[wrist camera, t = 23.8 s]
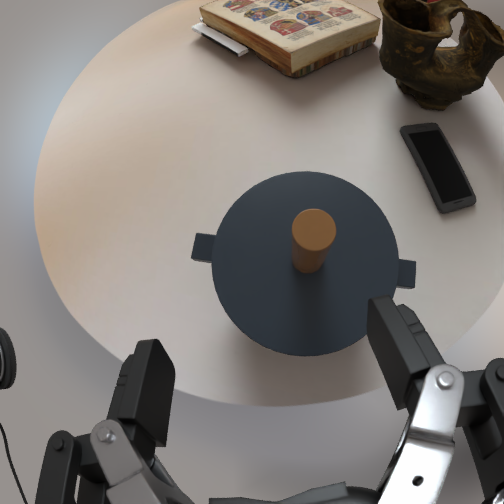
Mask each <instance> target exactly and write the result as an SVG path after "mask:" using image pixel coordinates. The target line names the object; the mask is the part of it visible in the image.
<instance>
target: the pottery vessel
mask: <svg viewBox="0 0 504 504" xmlns="http://www.w3.org/2000/svg"><path fill="white" fill-rule="evenodd" d="M377 3H378V4H379V7H380V10H381V12H382V15H383V26H382V35H383V36H382V37H383V39H382V45H381V48H380V51H379V58H380V62H381V64H382V67H383V69H384V70H385V71H386V72H387V73H388V74H390V75H391V76H393V77H394V78H396V83H397V84H398V85H400V86H401V88H402V91H403V92H404V93H410V94H413V95H414V96H415V98H416V100H415V101H417V100H418V101H417V102H418V103H419V104H420V106H421V107H422V108H425V109H431V110H434V109H436V110H442V111H443V110H445V109H446V108H447V107H448V106H449V105H450V104H452V103H453V102H456V101H459V100H461V99H462V96H464V95H468V94H471V92H473V91H476V90H478V89H479V88H481V87H482V86H483V84H484V81H485V79H486V76H487V74H488V73H489V71H490V70H491V69H492V67H493V65H494V63H495V62H496V61H497V60H498V59H499V58H501V57H502V56H504V30H502V29H501V28H500V26H497V25H496V24H494V23H493V22H492V20H490V19H489V18H488V17H487V16H486V15H484V14H482V13H481V12H479V11H475V10H471V9H470V8H468V6H467V5H466V4H465V3H464V2H463V1H462V0H439V1H435V2H431V3H426V2H423V1H421V0H378V2H377ZM458 12H462V13H463V16H464V23H463V26H462V27H461V30H460V35H459V45H458V46H456V47H437V46H438V44H439V43H440V42H441V41H442V39H444V38H449V37H451V35H452V33H453V30H452V28H451V25H450V21H451V19H453V18H454V17H455V16H456V15H457V13H458ZM424 97H425V98H424Z"/></svg>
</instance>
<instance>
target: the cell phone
mask: <svg viewBox="0 0 504 504" xmlns="http://www.w3.org/2000/svg"><path fill="white" fill-rule="evenodd" d="M400 132H401V135H402V137H403V139H404V140H405V142H406V144H407V146H408V148H409V150H410V151H411V153H412V155H413V157H414V159H415V161H416V163H417V165H418V167H419V169H420V171H421V173H422V175H423V177H424V179H425V182H426V184H427V186H428V188H429V190H430V192H431V195H432V197H433V199H434V202H435V204H436V206H437V208H438V210H439V211H440V212H441V213H448V212H452V211H455V210H458V209H462V208H465V207H468V206H472V205H474V204H475V203H476V196H475V194H474V192H473V189H472V187H471V185H470V183H469V181H468V179H467V177H466V175H465V173H464V171H463V169H462V167H461V165H460V163H459V161H458V159H457V157H456V155H455V153H454V152H453V150H452V148H451V146H450V144H449V143H448V141H447V139H446V137H445V136H444V134H443V132H442V131H441V129H440V127H439V126H438V125H437V124H436V123H424V124H416V125H408V126H403V127H401V129H400Z"/></svg>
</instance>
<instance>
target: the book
mask: <svg viewBox="0 0 504 504" xmlns="http://www.w3.org/2000/svg"><path fill="white" fill-rule="evenodd" d="M199 9H200V12H201V15H202V17H201V18H199V19H200V21H201V22H204V23H205V24H206V25H207V26H206V25H204V24H202V23H198V24H196V25H194V26H192V30H194V31H195V32H197V33H199V34H201V35H203V36H205V37H206V38H208V39H210V40H212V41H213V42H215V43H217V44H218V45H220V46H222V47H223V48H225V49H227V50H228V51H230V52H232V53H233V54H235V55H236V56H238V57H239V56H241V55H243V54H245V53H247V52H248V48H246V47H244V46H243V45H246V46H248V47H250V48H252V49H253V50H255V53H256V55H257V56H258V57H259V58H260V59H262V60H263V61H264V62H265V63H267V64H269V65H270V66H272V67H273V68H275V69H277V70H279V71H281V72H282V73H283V74H284V75H287V76H292V77H301V76H303V75H305V74H307V73H309V72H311V71H312V70H317V69H319V68H320V67H322V66H323V65H325V64H327V63H329V62H331V61H334V60H336V59H339V58H341V57H343V56H348V55H350V54H352V53H354V52H356V51H358V50H360V49H362V48H366V47H367V46H369V45H371V44H372V43H373V42H375V40H376V36H378V31H379V26H380V20H381V19H380V18H378V17H376V16H374V15H372V14H370V13H369V12H367V11H365V10H363V9H361V8H359V7H357V6H355V5H352V4H350V3H348V2H346V1H344V0H216V1H213V2H211V3H209V4H206V5H204V6H202V7H200V8H199Z"/></svg>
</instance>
